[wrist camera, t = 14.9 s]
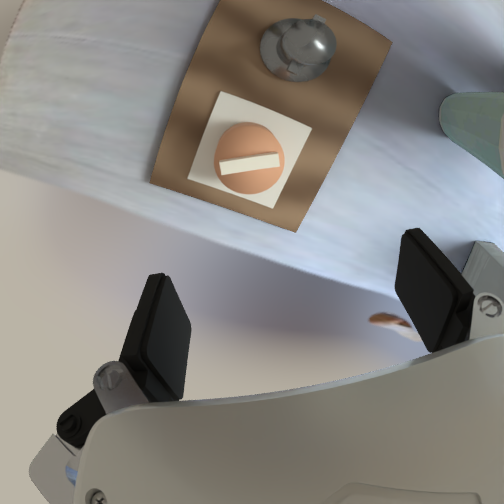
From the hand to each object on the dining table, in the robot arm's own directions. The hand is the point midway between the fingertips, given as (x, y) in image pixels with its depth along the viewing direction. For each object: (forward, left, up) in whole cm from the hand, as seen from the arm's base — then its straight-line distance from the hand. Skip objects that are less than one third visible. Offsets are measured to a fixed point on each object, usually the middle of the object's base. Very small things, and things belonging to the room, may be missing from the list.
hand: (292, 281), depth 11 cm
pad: (0, -1, -21) cm, 21 cm away
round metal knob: (-12, -1, -21) cm, 24 cm away
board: (-6, -1, -22) cm, 23 cm away
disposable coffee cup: (-17, +21, -23) cm, 35 cm away
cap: (0, -1, -21) cm, 21 cm away
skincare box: (-1, +43, -23) cm, 49 cm away
